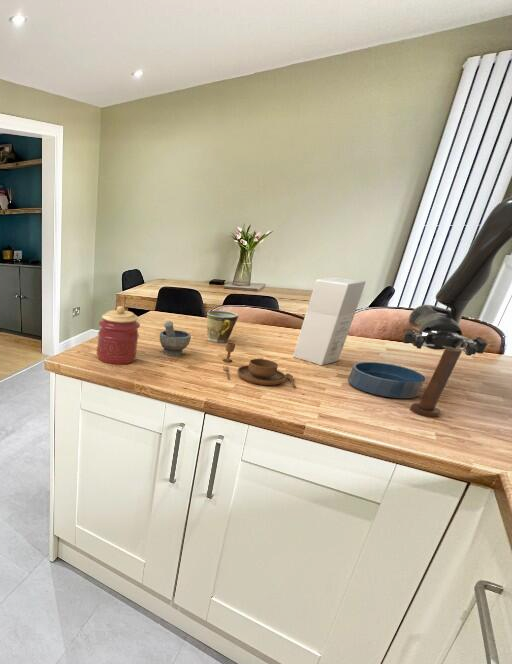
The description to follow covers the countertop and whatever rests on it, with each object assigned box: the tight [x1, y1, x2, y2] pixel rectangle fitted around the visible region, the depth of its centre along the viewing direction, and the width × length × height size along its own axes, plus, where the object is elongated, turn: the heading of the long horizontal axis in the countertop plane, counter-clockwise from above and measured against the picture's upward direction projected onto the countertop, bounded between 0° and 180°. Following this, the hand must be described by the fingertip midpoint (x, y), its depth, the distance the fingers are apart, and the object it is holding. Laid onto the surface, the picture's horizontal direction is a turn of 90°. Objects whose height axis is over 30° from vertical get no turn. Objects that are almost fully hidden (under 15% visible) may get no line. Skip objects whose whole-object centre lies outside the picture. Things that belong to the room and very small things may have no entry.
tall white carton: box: [292, 276, 367, 366], centre depth 123 cm, size 9×9×25 cm
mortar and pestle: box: [159, 320, 192, 357], centre depth 134 cm, size 11×9×12 cm
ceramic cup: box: [206, 310, 239, 344], centre depth 144 cm, size 13×10×10 cm
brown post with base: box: [409, 348, 463, 418], centre depth 92 cm, size 5×5×16 cm
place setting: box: [222, 341, 296, 388], centre depth 118 cm, size 18×20×6 cm
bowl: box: [347, 361, 426, 399], centre depth 106 cm, size 14×14×5 cm
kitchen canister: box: [96, 305, 141, 365], centre depth 131 cm, size 13×13×18 cm
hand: (445, 348), depth 97 cm, fingers open, 8 cm apart
